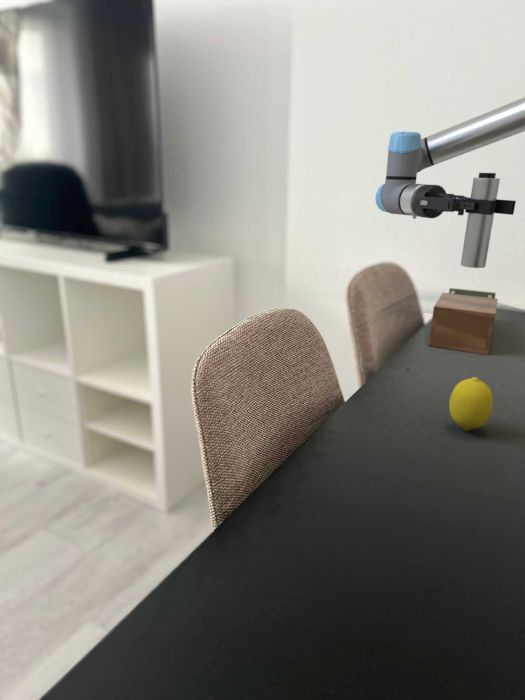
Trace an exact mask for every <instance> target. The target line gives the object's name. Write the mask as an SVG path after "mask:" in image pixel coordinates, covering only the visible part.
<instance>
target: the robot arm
mask: <svg viewBox="0 0 525 700" xmlns="http://www.w3.org/2000/svg"><path fill="white" fill-rule="evenodd" d="M523 132H525V96H523V97H522V98H520V99H517V100H514V101H512V102H510V103H507V104H504V105H502V106H499V107H497V108H494V109H492V110H490V111H487V112H485V113H483V114H480V115H478V116H475V117H473V118H470V119H468V120H465V121H463V122H460V123H457V124H455V125H453V126H450V127H448V128H445V129H443V130H440V131H438V132H436V133H433V134H430V135H428V136H426V137H423V138H422V135H421V133H419V132H418V131H417V132H416V131H394V132H392V133H391V134H390V137H389V143H388V146H387V160H386V161H387V162H386V163H387V164H386V175H385V180H384V183H383V184H381V185H380V186H379V187H378V189H377V191H376V193H375V204H376V207H378V209H379V210H380V211H382V212H384V213H389V214H392V215H399V216H400V215H402V216H411V217H412V219H414V220H415V219H417V218H426V219H437V218H438V217H440V216H441V215H442V214H443V213H444V212H446V213H454V212H457V216H464V213H467V214H468V213H476V214H485V215H492V214H493V208H494V202H495V201H492V200H478V199H471V197H468V196H465V195H462V194H461V195H460V194H454V193H447V191H446V189H445V188H444V187H443V186H441V185H438V184H426V183H417V177H418V176H417V175H418V173H420V172H421V171H423V170H425V169H428V168H431V167H433V166H435V165H438V164H440V163H444V162H446V161H449V160H451V159H455V158H457V157H459V156H463V155H465V154H467V153H471V152H473V151H475V150H478V149H481V148H483V147H486V146H489V145H492V144H494V143H497V142H499V141H502V140H505V139H508V138H510V137H513V136H515V135H518V134H522V133H523ZM515 207H516V200H510V199H498V198H497V199H496V205H495V211H494V214H499V215H508V216H509V215H510V216H511V215H512V216H513V215H514V213H515Z"/></svg>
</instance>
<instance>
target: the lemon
mask: <svg viewBox="0 0 525 700" xmlns="http://www.w3.org/2000/svg"><path fill="white" fill-rule="evenodd" d="M448 406H449V415H450V416H451V419H452V420H453V422H454V423H456V424H457V425H458V426H460V427H461V428H462V430H465V431H466V432H467V431H468V432H469V431H470V430H472V429H478V428H481V427H482V426H483V425H485V424H486V423H487V422H488V421H489V419H490V418H491V415H492V413H493V408H494V407H493V406H494V400H493V392H492V390H491V388H490V387H489V385H487V384H486V382H484V381H482V380H481V379H480V378H479V377H477V376H472V377H471V378H465V379H463V380H461V381H460V382H458V383H457V384H456V385H455V386H454V388H453V390H452V392H451V394H450V398H449V402H448Z"/></svg>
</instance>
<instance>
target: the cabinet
mask: <svg viewBox="0 0 525 700" xmlns="http://www.w3.org/2000/svg"><path fill="white" fill-rule="evenodd" d="M497 306H498V298H496V297H495V298H487V297H478V296H469V295H460V294H450V293H449V292H442V293H441V295H440V296H439V298H438V300H437V301H436V303H435V304H434V306H433V310H432V318H431V326H430V332H429V340H428V347H430V348H431V347H432V348H439V349H446V350H452V351H459V352H466V353H472V354H478V355H485V356H489V354H490V348H491V341H492V336H493V332H494V331H493V330H494V325H495V319H496V315H497Z"/></svg>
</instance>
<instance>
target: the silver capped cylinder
mask: <svg viewBox="0 0 525 700" xmlns="http://www.w3.org/2000/svg"><path fill="white" fill-rule="evenodd" d="M496 175H497V173H496V172H479V173H478V177H473V179H472V187H471V193H470V198H471V199H478V200H492V201H495V202H494V208H493V214H492V215H485V214H476V213H467V220H466V225H465V233H464V238H463V246H462V253H461V260H460V266H461V267H465V268H470V269H471V268H472V269H473V268H474V269H484V268H486V266H487V260H488V259H487V258H488V253H489V248H490V242H491V241H490V240H491V235H492V228H493V223H494V217H495V213H494V211H495V205H496V199H498V193H499V187H500V181H501V178H497V176H496Z"/></svg>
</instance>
